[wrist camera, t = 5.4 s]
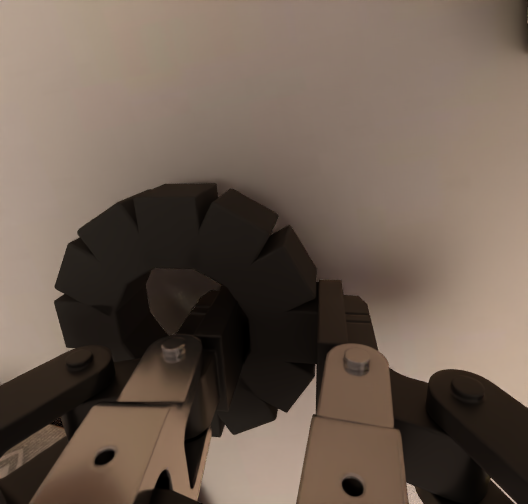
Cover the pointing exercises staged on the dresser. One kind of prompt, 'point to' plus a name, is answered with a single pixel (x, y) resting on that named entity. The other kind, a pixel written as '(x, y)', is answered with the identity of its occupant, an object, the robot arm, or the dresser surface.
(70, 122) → the dresser surface
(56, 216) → the dresser surface
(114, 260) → the black toy tire
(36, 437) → the planter
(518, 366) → the dresser surface
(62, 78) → the dresser surface
